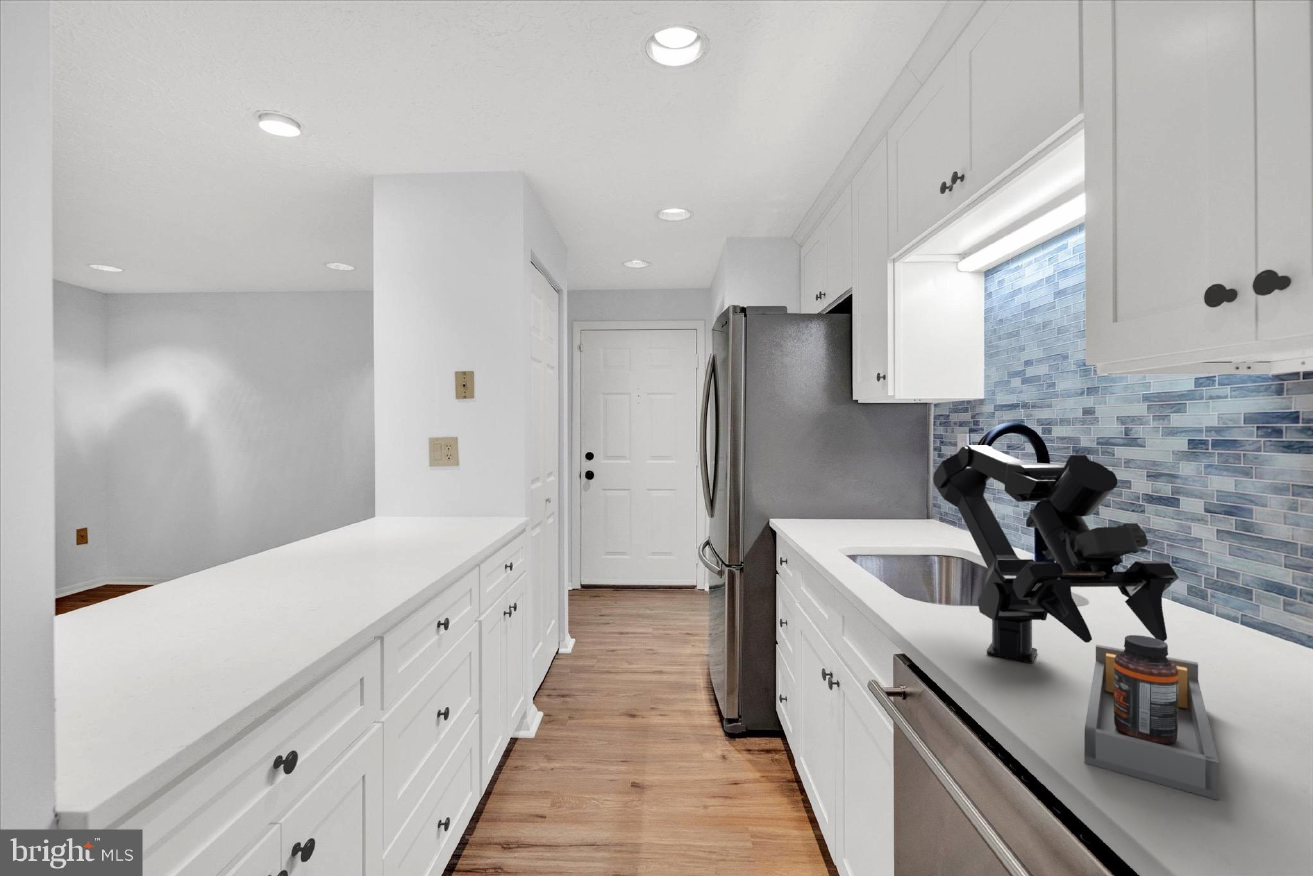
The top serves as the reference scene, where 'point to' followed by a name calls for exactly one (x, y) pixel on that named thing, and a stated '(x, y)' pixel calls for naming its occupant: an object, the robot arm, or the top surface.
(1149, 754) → the tray
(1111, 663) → the pusher
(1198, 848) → the top surface
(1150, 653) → the supplement bottle
